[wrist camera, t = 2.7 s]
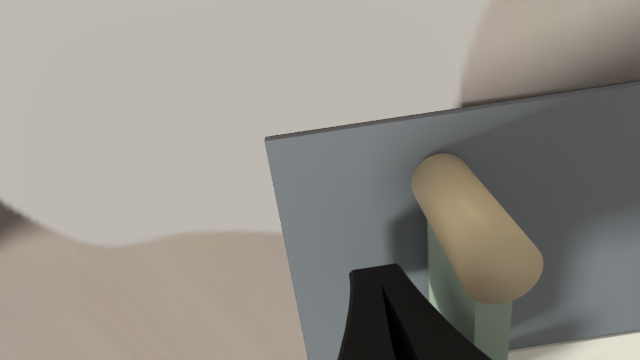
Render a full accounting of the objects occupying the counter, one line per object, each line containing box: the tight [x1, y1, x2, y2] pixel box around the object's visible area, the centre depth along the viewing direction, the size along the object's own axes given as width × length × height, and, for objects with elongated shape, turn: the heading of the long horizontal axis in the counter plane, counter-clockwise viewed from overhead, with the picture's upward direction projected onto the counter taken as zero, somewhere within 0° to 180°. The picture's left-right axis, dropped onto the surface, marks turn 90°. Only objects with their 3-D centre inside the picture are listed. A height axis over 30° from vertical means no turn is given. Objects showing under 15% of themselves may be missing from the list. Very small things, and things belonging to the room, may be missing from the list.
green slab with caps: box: [411, 153, 543, 360], centre depth 12 cm, size 8×2×4 cm, turn 7°
